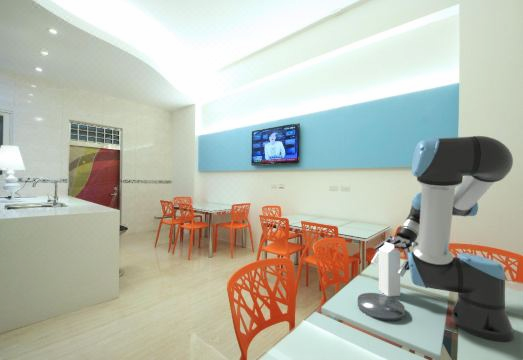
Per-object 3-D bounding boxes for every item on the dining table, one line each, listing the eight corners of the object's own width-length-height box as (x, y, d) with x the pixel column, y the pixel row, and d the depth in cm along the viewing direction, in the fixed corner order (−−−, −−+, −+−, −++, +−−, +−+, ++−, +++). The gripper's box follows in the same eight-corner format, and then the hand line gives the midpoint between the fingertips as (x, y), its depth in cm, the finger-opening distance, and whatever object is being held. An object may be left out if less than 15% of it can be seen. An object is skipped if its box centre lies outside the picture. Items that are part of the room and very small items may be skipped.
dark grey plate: (414, 315, 86) (414, 308, 86) (383, 325, 80) (383, 318, 80) (377, 296, 101) (377, 290, 101) (348, 303, 94) (348, 297, 94)
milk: (388, 297, 100) (388, 245, 100) (378, 290, 106) (378, 241, 106) (400, 295, 101) (400, 244, 101) (390, 289, 107) (390, 240, 107)
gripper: (442, 243, 98) (418, 285, 92) (389, 232, 121) (367, 265, 115) (434, 232, 96) (409, 274, 90) (381, 222, 119) (359, 255, 113)
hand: (385, 269), depth 103 cm, fingers open, 13 cm apart
